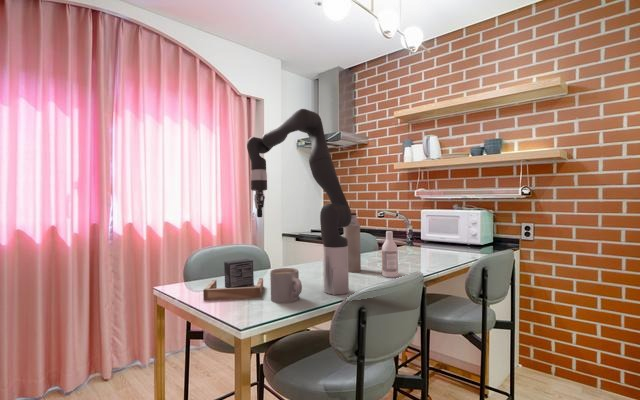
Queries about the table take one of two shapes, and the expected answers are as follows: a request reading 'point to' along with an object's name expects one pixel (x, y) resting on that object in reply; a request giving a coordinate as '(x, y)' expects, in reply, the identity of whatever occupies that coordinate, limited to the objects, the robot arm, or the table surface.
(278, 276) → the coffee mug
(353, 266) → the thermos bottle
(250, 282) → the small box
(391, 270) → the bath foam
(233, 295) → the walnut tray
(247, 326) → the table surface
